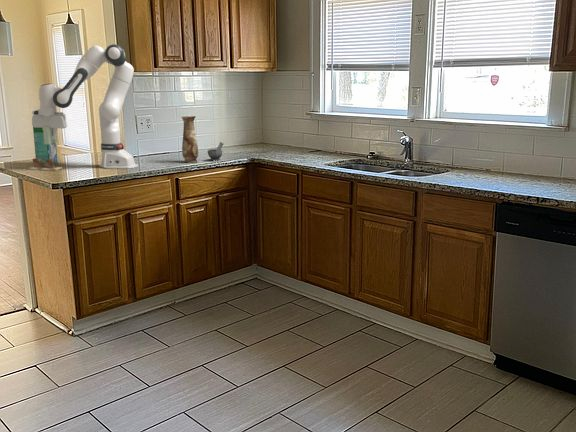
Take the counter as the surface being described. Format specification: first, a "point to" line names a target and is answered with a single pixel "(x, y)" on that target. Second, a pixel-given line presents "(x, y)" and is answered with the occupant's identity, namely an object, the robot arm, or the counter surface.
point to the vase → (189, 139)
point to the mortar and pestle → (216, 152)
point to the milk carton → (43, 146)
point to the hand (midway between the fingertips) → (50, 135)
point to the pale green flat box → (49, 135)
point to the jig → (44, 165)
